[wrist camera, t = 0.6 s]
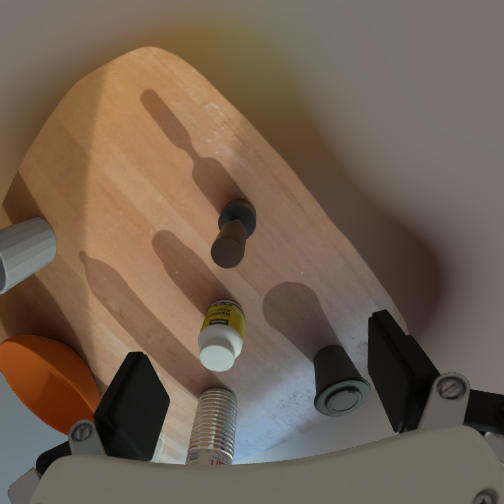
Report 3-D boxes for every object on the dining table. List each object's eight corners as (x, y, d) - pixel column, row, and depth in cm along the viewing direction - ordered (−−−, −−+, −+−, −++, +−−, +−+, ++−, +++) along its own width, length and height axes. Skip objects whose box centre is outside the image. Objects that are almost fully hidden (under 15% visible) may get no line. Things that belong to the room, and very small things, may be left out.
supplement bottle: (234, 292, 38) (227, 334, 28) (251, 323, 39) (249, 369, 30) (199, 306, 39) (184, 348, 29) (218, 336, 40) (208, 381, 31)
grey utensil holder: (21, 247, 36) (-24, 272, 25) (30, 207, 34) (-21, 225, 23) (50, 273, 38) (6, 305, 26) (61, 233, 36) (10, 259, 24)
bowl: (62, 405, 49) (45, 431, 40) (8, 319, 42) (-18, 342, 32) (139, 410, 47) (125, 447, 37) (77, 306, 39) (44, 338, 30)
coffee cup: (353, 333, 40) (374, 375, 30) (354, 370, 42) (371, 412, 32) (302, 344, 40) (312, 391, 31) (308, 381, 43) (316, 426, 33)
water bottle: (242, 408, 45) (234, 532, 21) (206, 411, 46) (186, 528, 22) (232, 383, 43) (217, 520, 19) (194, 387, 44) (163, 515, 20)
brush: (217, 219, 35) (190, 260, 20) (235, 192, 34) (218, 215, 19) (244, 236, 35) (235, 288, 21) (262, 210, 34) (266, 246, 20)
